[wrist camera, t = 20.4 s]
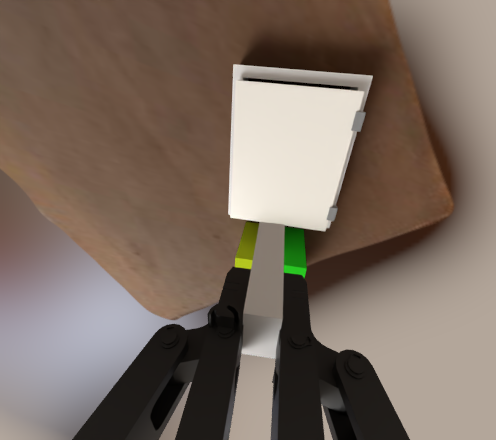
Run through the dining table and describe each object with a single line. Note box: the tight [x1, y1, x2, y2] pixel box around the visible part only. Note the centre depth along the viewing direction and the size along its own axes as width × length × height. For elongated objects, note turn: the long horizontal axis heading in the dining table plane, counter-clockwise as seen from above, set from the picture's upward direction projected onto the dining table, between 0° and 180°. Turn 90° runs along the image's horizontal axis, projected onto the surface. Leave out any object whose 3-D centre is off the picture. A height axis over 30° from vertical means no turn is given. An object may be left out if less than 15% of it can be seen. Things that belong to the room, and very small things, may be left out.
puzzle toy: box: [235, 222, 307, 277], centre depth 42 cm, size 10×10×10 cm
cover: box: [230, 80, 366, 231], centre depth 32 cm, size 18×15×1 cm
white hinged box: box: [228, 64, 373, 228], centre depth 35 cm, size 20×15×4 cm
